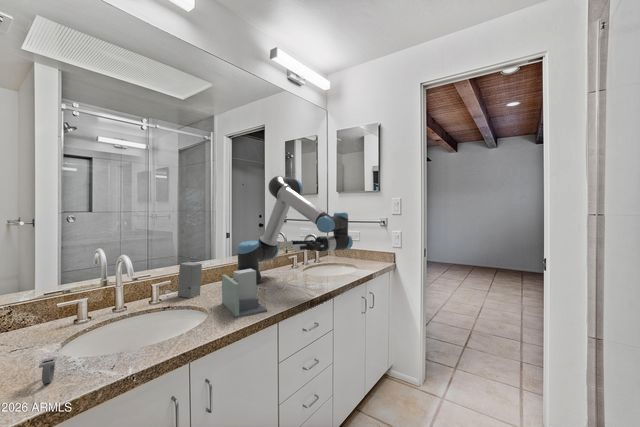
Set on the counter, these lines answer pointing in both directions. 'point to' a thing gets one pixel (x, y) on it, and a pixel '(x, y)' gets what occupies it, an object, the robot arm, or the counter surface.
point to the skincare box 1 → (189, 279)
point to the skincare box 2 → (246, 283)
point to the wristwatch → (48, 369)
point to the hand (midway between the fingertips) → (285, 246)
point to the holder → (232, 300)
